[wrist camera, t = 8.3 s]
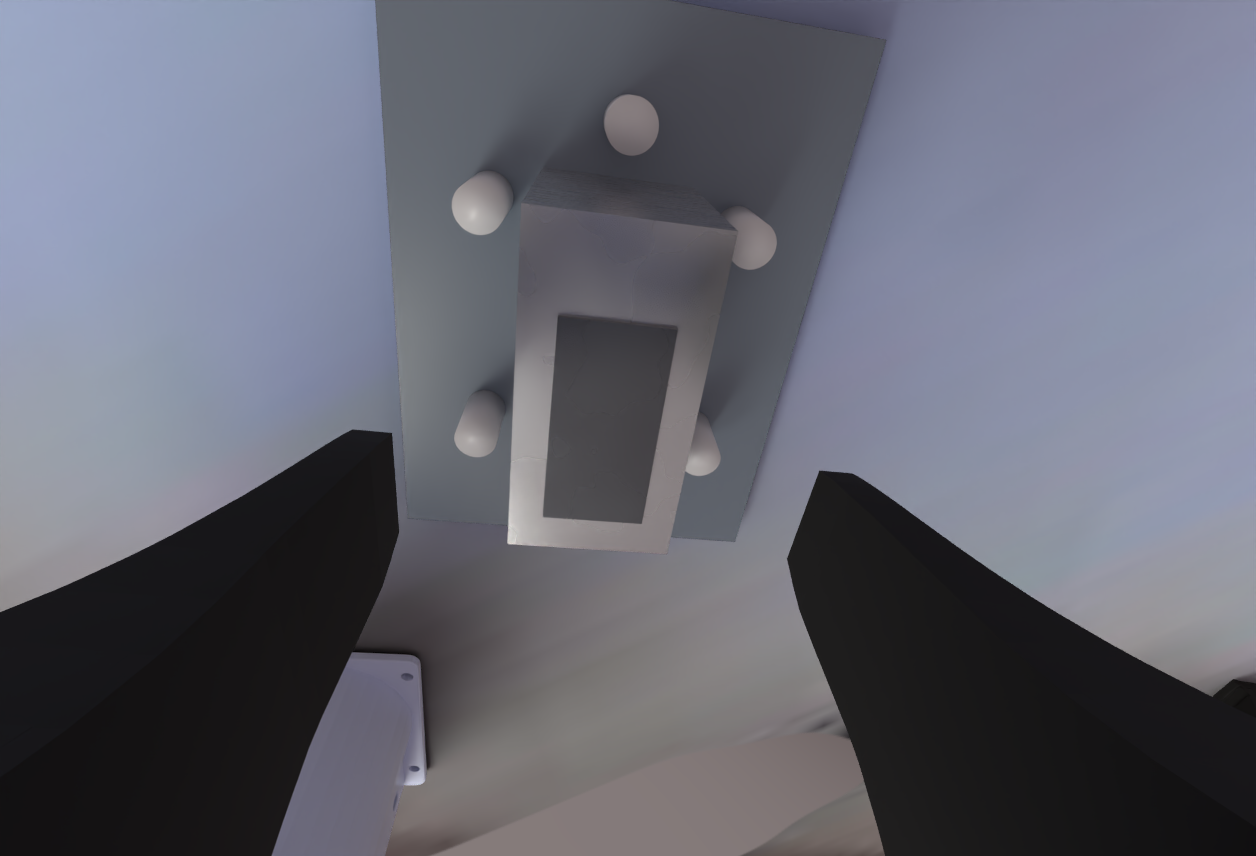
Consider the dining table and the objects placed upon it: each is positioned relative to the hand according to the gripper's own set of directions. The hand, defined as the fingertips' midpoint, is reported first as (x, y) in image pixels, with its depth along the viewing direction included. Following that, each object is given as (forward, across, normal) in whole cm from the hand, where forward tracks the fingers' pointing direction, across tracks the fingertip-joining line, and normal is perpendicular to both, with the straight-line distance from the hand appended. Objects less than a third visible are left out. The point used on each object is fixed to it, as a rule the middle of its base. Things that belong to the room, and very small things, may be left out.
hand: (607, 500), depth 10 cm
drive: (+9, 0, 0) cm, 9 cm away
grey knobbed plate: (+9, 0, 0) cm, 9 cm away
